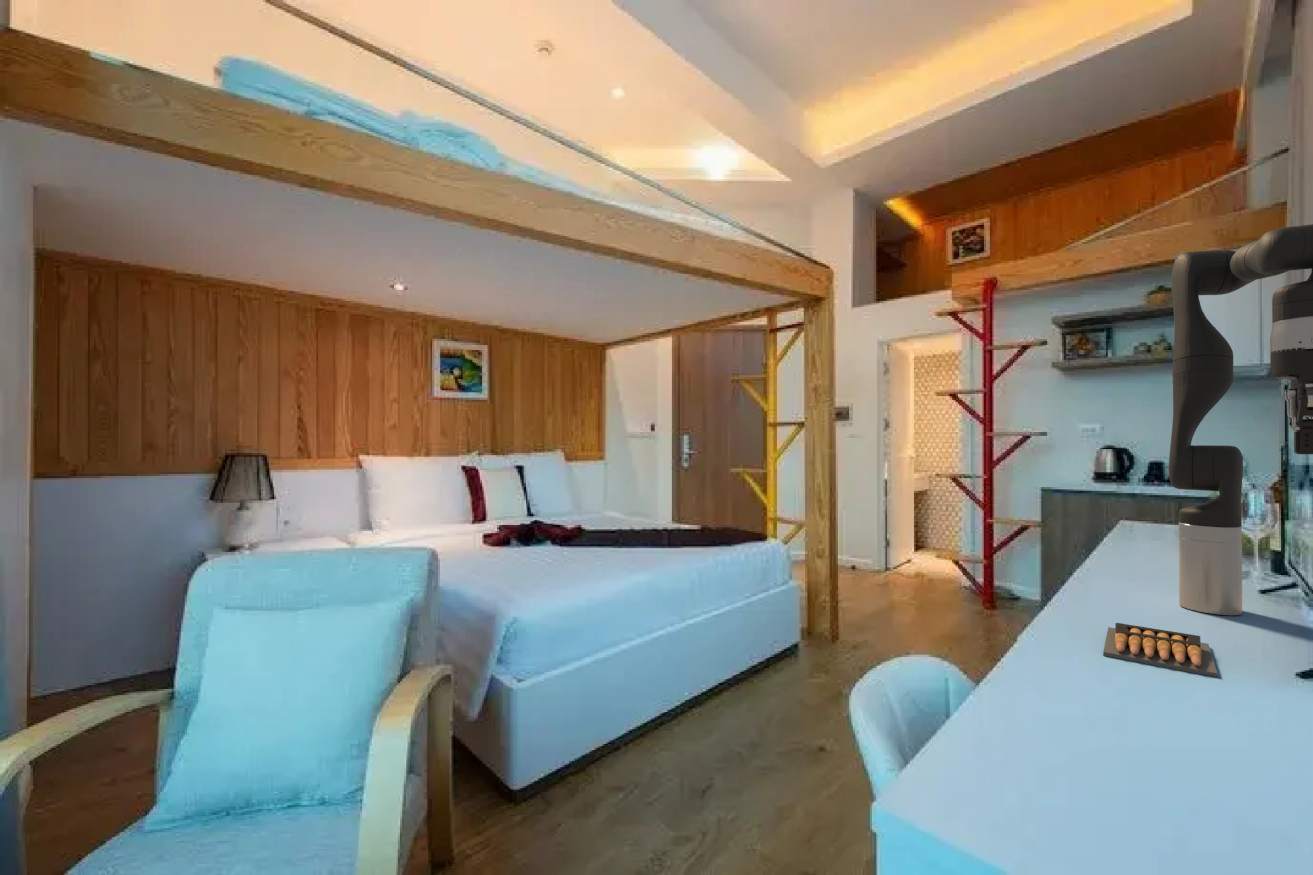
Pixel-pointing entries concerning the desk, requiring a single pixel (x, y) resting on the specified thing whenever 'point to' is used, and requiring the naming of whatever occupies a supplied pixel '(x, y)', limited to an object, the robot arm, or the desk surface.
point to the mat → (1204, 669)
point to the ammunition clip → (1158, 642)
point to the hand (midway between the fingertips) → (1305, 454)
